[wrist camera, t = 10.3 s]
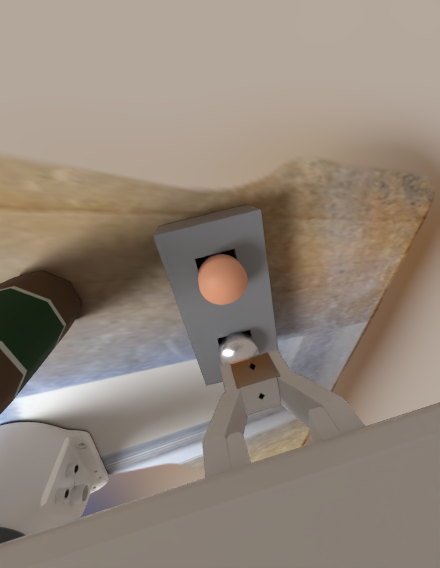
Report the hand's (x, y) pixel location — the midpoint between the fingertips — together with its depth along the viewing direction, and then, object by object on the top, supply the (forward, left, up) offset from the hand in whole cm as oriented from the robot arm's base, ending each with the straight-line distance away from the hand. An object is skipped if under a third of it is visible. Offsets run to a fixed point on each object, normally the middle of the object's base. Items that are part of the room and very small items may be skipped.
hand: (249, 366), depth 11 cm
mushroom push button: (0, 0, -15) cm, 15 cm away
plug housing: (-5, 0, -17) cm, 18 cm away
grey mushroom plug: (-10, 0, -16) cm, 19 cm away
